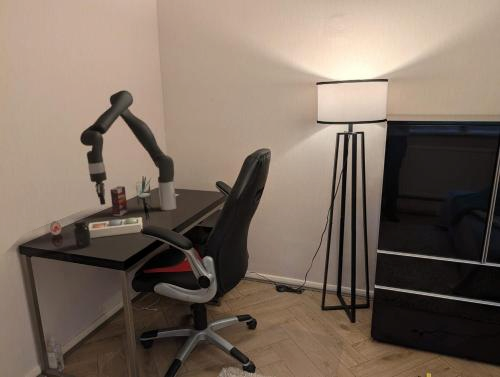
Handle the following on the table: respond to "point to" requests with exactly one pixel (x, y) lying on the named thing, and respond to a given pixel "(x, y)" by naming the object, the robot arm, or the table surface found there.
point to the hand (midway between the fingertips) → (103, 204)
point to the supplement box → (118, 200)
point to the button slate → (114, 222)
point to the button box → (114, 228)
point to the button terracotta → (98, 226)
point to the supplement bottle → (81, 234)
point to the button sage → (131, 221)
